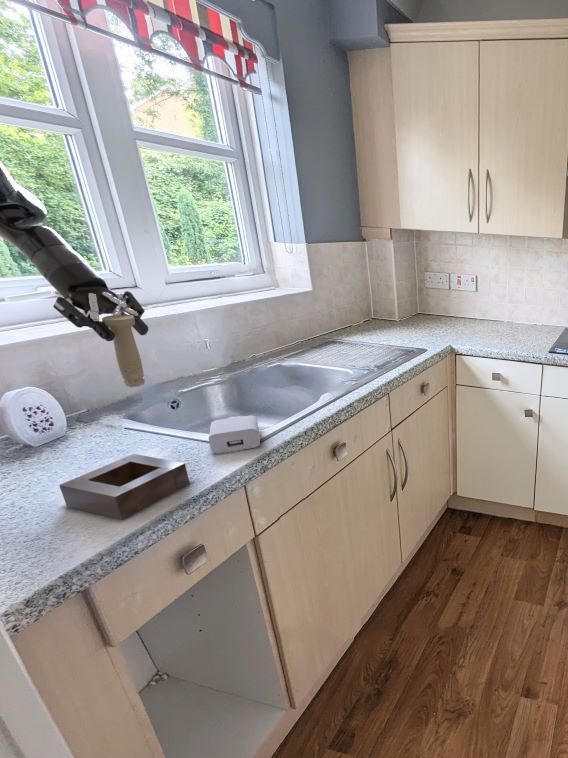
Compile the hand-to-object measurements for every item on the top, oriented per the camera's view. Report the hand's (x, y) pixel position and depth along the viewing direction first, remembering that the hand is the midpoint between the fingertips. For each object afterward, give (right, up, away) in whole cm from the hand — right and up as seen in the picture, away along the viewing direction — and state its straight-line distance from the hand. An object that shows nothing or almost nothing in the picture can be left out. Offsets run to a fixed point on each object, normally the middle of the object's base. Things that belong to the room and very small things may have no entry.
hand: (129, 335), depth 95 cm
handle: (-2, -11, +4) cm, 12 cm away
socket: (+11, -31, -12) cm, 35 cm away
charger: (+15, -23, +12) cm, 30 cm away
